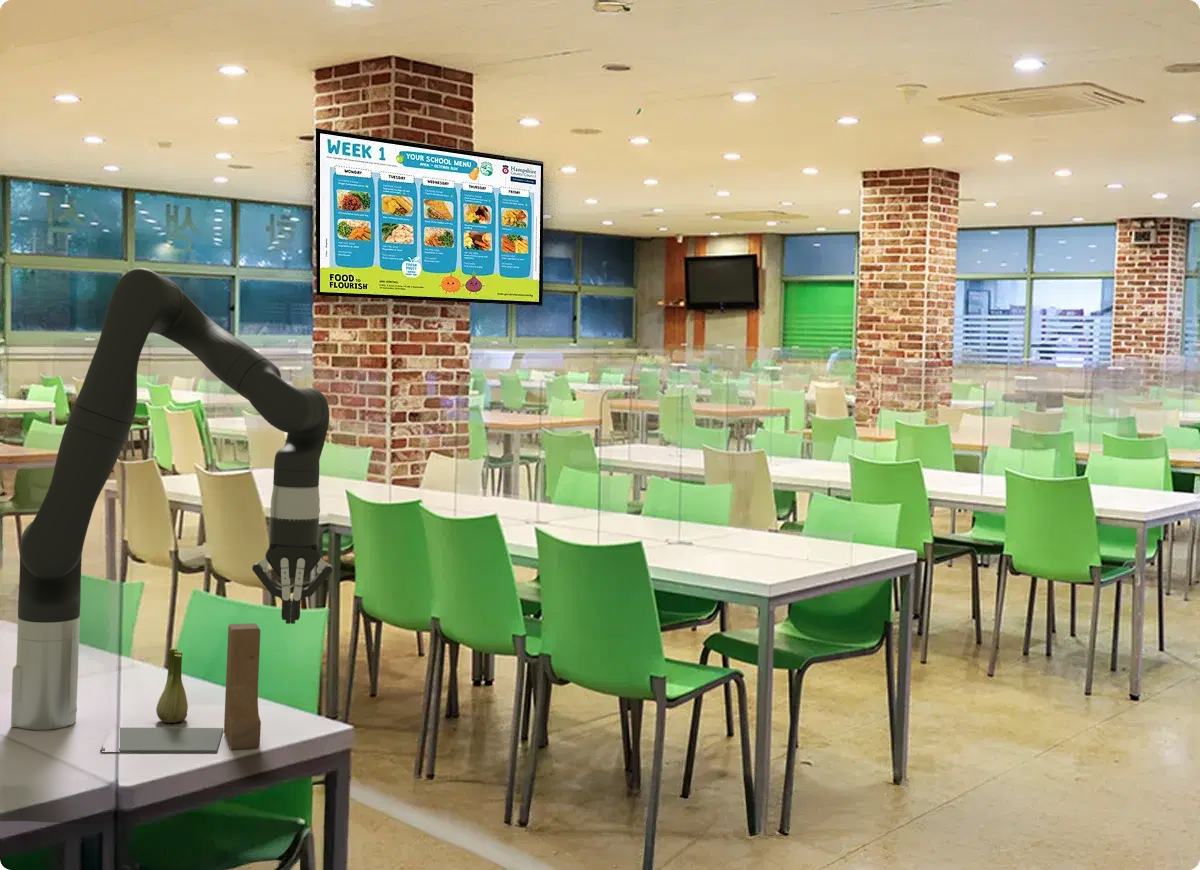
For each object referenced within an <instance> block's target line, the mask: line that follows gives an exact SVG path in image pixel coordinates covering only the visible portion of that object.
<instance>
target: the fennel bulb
mask: <svg viewBox="0 0 1200 870" xmlns="http://www.w3.org/2000/svg"><path fill="white" fill-rule="evenodd" d="M182 661H183V652H182V651H179V650H178V649H177V648H174V647H172V648H169V650H168V664H167V665H168V667H167V676H166V677H167V678H166V683H165V684H164V685H165V686H164V688H163V691H162V693H161V695H160V697H159V700H158V702H157V703H156V704H157V705H156V708H155V709H156V715H157V717H158V719H159V720H160V721H161V722H163V723H167V724H168V723H169V724H172V723H173V724H174V723H179V722H182V721H185V719H186V718H187V717H188V711H189V710H188V709H189V705H188V698H187V694H186V690H185V687H184V683H183V679H182V666H183V662H182Z"/></svg>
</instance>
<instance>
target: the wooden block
mask: <svg viewBox="0 0 1200 870" xmlns="http://www.w3.org/2000/svg"><path fill="white" fill-rule="evenodd" d="M227 627H228V628H227V651H226V652H227V653H226V671H225V672H226V675H225V693H224V694H225V696H224V697H225V698H224V723H223V724H224V725H223V733H224V736H225V739H226V741H227V743H228V746H229V748H230V749H231V750H235V751H236V750H250V749H251V750H252V749H253V748H255V749H260V746H261V732H262V731H261V729H262V728H261V727H262V725H261V724H262V722H261V718H260V714H259V700H258V699H259V675H260V674H259V671H260V670H259V669H260V650H261V647H260V646H261V629H260V627H259V625H258V624H257V623H230V624H228V626H227Z"/></svg>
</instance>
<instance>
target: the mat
mask: <svg viewBox="0 0 1200 870" xmlns="http://www.w3.org/2000/svg"><path fill="white" fill-rule="evenodd" d="M119 728H120V748H119V751H120V753H119V754H122V753H124V754H128V753H129V754H132V753H133V754H134V753H140V754H141V753H142V754H144V753H145V754H146V753H148V754H149V753H151V754H154V753H155V754H157V753H158V754H163V753H166V754H168V753H169V754H170V753H171V754H173V753H174V754H175V753H176V754H177V753H180V754H181V753H183V754H185V753H187V754H189V753H193V754H194V753H195V754H197V753H200V754H202V753H205V754H206V753H207V754H209V753H213V754H215V753H216V754H217V753H218V749H219V747H220V743H221V741H222V740H221V739H222V736H223V733H224V727H119ZM102 751H105V748H103V745H102V746H101V747H100V750H99V753H100V752H102Z"/></svg>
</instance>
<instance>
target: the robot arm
mask: <svg viewBox="0 0 1200 870" xmlns="http://www.w3.org/2000/svg"><path fill="white" fill-rule="evenodd" d="M108 302H109V303H108V307H107V309H106V314H105V318H104V321H103V324H102V329H101V332H100V336H99V340H98V343H97V346H96V348H95V351H94V354H93V357H92V359H91V362H90V365H89V367H88V369H87V373H86V375H85V378H84V380H83V383H82V385H81V388H80V391H79V393H78V395H77V397H76V399H75V401H74V405H73V406H72V409H71V412H70V415H69V417H68V419H67V422H66V424H65V428H64V431H63V433H62V437H61V440H60V444H59V448H58V451H57V455H56V460H55V464H54V469H53V473H52V477H51V480H50V481H51V482H50V484H49V486H48V490H47V491H46V494H45V497H44V498H43V500H42V503H41V505H40V507H39V509H38V511H37V513H36V515H35V517H34V519H33V520H32V522H30V523H29V524H28V525H27V526H26V528H24V531H23V532H22V535H21V537H20V543H19V578H18V579H19V582H18V599H17V632H16V633H17V636H16V637H17V638H16V641H17V642H16V659H15V660H16V664H15V665H14V666H13V667H12V668H13V669H12V679H11V681H12V682H11V689H12V690H11V709H10V710H11V713H10V715H11V716H10V727H11V726H12V727H11V728H20V729H21V728H22V729H27V730H36V731H37V730H42V731H43V730H55V729H60V728H65V727H68V725H69V726H71V725H74V724H75V723H74V722H75V721H76V722H77V712H78V711H77V710H78V706H77V705H78V704H77V703H78V678H79V677H78V676H79V670H78V669H79V655H80V654H79V651H80V649H79V648H80V624H81V623H80V622H81V619H80V617H81V599H82V598H81V596H82V595H81V593H82V590H81V589H82V588H81V587H82V586H81V585H82V584H81V583H82V582H81V581H82V560H83V559H82V557H83V556H82V555H83V549H84V545H85V544H84V543H85V540H86V535H87V533H88V528H89V525H90V522H91V519H92V514H93V512H94V509H95V506H96V503H97V500H98V499H99V496H100V494H101V492H102V490H103V488H104V487H105V485H106V483H107V481H108V478H109V477H110V475H111V473H112V471H113V469H114V467H115V465H116V463H117V461H118V460H119V456H120V454H121V453H122V450H123V448H124V445H125V444H126V443H125V442H126V440H127V438H128V435H129V433H130V431H131V428H132V424H133V422H134V421H135V420H134V419H135V417H136V412H137V405H138V399H137V398H138V368H139V367H138V366H139V361H140V356H141V354H142V351H143V348H144V347H145V343H146V341H147V339H148V336H149V334H150V333H154V334H158V335H160V336H162V337H164V338H166V339H168V340H170V341H172V342H174V343H176V344H178V345H179V346H180V347H182V348H184V349H186V350H188V352H190V353H191V354H193V356H195V357H196V358H197V359H198V360H199V361H200V362H201V363H202V364H203V365H204V366H205V367H206V369H208V370H209V371H210V373H212V374H213V375H214V376H215V377H217V379H219V380H220V381H221V382H222V383H224V384H225V385H227V386H228V387H229V388H230V389H231V390H233V391H235V392H236V393H237V394H238V395H240V396H241V397H243V398H245V400H248V401H249V403H250V404H251V405H252V407H253V408H254V409H255V410H256V411H257V412H258V413H259V415H261V417H262V418H263V419H264V420H265V421H266V422H267V423H269V424H270V425H271V426H272V427H274V428H275V429H277V430H279V431H280V432H283V433H286V434H287V435H286V440H285V444H284V445H283V447H281V448H280V449H279V450H278V451H276V453H275V455H274V462H273V481H272V482H273V486H272V493H271V498H270V511H269V512H270V518H269V542H268V543H269V544H268V548H267V551H266V552H265V556H264V557H263V558H262V559H260V560H259V561H256V562H254V563H253V565H252V567H251V568H252V571H253V572H254V574H255V575H256V576H257V578H258V579H259V580H260V582H261V583H262V584H263V587H265V589H266V590H267V591H268V592H269V594H270V595H271V597H277V598H279V599H280V600H281V614H280V615H281V616H280V617H281V619H282V621H285V624H286V625H287V624H288V625H291V624H293V625H296V621H299V620H300V617H301V601H302V600H303V599H305V598H310V597H312V596H313V595H314V594H315V592H316V591H317V590H318V589H319V588H320V586H321V585H322V584H323V583H324V582H325V580H326V579H327V578H329V576H330V575H331V574H332V573H333V565H332V564H331V563H328V562H326V560H323V558H322V556H321V555H322V554H321V552H320V549H319V533H320V532H319V529H320V528H319V527H320V513H321V507H320V505H321V504H320V503H321V499H320V489H319V487H320V459H321V456H322V453H323V452H322V451H323V449H324V446H325V442H326V437H327V434H328V431H329V424H330V406H329V403H328V400H327V398H326V396H325V395H324V394H323V393H322V392H321V391H320V390H318V389H316V388H314V387H294V386H292V385H291V384H289V383H287V382H286V381H285V380H283V378H282V375H281V371H280V370H279V368H278V367H277V365H275V363H273V362H272V361H270V360H269V359H267V358H266V357H265V356H264V355H262V354H261V353H259V352H257V351H256V350H255V349H253V348H252V347H251V346H249V345H248V344H246V343H245V342H243V341H242V340H240V339H239V338H237V337H236V336H234V335H233V334H231V333H230V332H229V331H227V330H225V328H224V329H223V328H222V327H221V326H220V325H219V324H217V323H216V322H215V321H213V320H212V319H211V318H210V317H209V316H208V315H207V314H206V313H204V312H203V310H202V309H200V307H199V306H198V305H197V304H196V303H194V301H193V300H192V299H191V298H190V297H189V296H188V295H187V294H186V293H185V292H184V291H183V290H182V288H181V287H179V285H178V284H177V283H176V282H174V280H171V279H169V278H168V277H166V276H163V275H161V274H159V273H157V272H155V271H153V270H151V269H148V268H144V267H139V268H134V269H131V270H129V271H127V272H126V273H125V274H123V275H122V276H121V277H120V279H119V280H118V281H117V282H116V285H115V287H114V288H113V290H112V294H111V296H110V300H109V301H108ZM268 564H269V565H270V567H271V568H272V570H273V571H274V572H275V574H276V575H277V576H278V577H279V578H280V582H281V587H279V586H278V585H277V584H276V582H275V581H274V580H273V579H272V577H271V576H270V575H269V569H270V567H269V566H268ZM316 566H317V568H316V573H317V575H316V576H315V577H314V578H313V579H312V580H311V582H310V583H309V584H308V585H307V586H306V587H305V588H303V584H304V583H303V582H304V578H306V577H307V576H309V574H310V573H311V572H312V571H313V569H314V568H315V567H316ZM291 578H292V579H294V585H293V593H292V598H291Z"/></svg>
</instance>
